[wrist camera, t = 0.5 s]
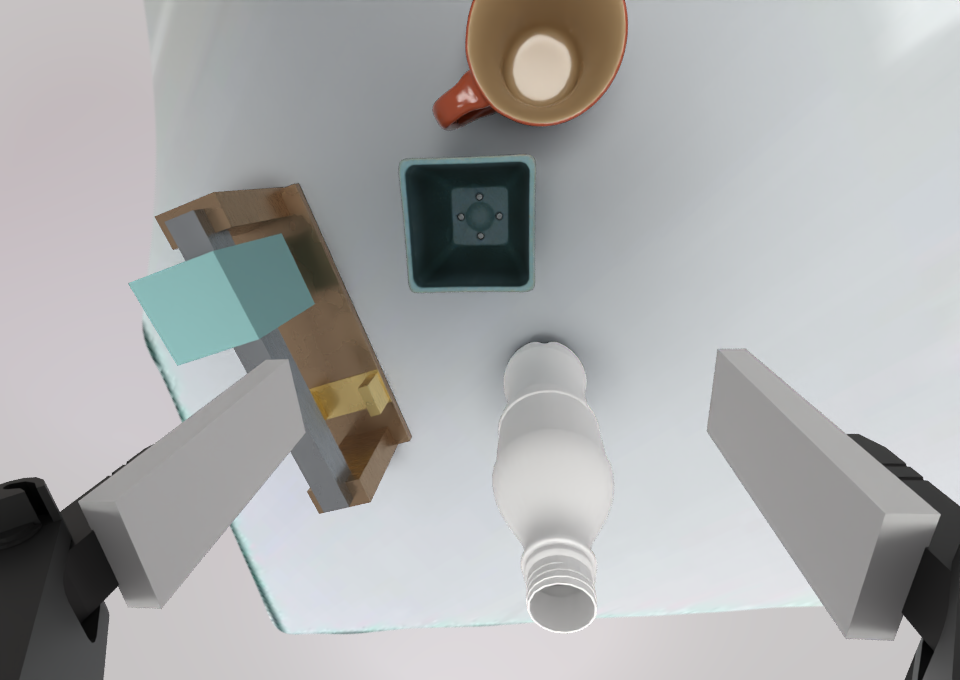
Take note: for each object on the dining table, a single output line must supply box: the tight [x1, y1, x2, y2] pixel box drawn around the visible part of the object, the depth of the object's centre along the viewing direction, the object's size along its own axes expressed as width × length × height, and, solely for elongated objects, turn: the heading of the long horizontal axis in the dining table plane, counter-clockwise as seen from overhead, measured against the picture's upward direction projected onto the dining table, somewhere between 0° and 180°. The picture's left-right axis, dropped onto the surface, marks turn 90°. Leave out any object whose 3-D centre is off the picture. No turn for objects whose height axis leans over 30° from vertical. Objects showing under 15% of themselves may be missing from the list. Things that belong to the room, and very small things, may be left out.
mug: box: [432, 0, 628, 131], centre depth 30 cm, size 12×9×10 cm
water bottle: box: [492, 342, 614, 633], centre depth 31 cm, size 7×7×25 cm
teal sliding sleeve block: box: [129, 233, 315, 366], centre depth 33 cm, size 6×7×8 cm
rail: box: [155, 184, 412, 514], centre depth 39 cm, size 26×8×10 cm, turn 19°
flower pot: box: [399, 154, 536, 293], centre depth 34 cm, size 9×9×9 cm
